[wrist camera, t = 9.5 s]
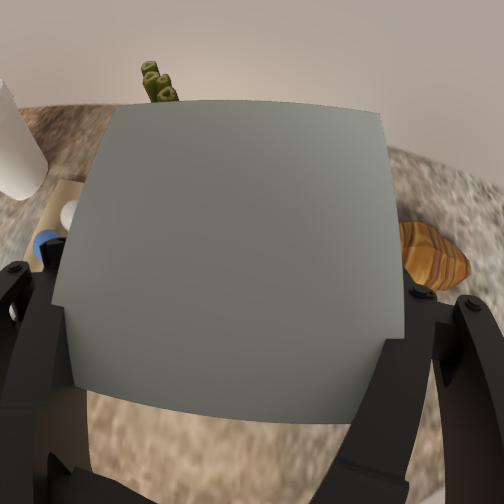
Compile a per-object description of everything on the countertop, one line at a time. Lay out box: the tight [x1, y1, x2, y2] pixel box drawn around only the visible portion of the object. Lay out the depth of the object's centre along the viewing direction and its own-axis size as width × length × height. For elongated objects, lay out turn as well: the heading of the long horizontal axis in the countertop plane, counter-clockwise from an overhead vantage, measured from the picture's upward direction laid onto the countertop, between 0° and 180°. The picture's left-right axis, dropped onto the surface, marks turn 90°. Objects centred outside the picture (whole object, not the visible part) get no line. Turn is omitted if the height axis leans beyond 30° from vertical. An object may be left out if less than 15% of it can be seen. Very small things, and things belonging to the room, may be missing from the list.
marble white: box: [60, 200, 78, 231], centre depth 25 cm, size 3×3×3 cm
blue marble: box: [33, 229, 60, 261], centre depth 24 cm, size 3×3×3 cm
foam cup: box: [0, 79, 48, 201], centre depth 24 cm, size 10×9×13 cm
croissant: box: [399, 221, 471, 292], centre depth 23 cm, size 14×7×5 cm, turn 83°
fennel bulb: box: [141, 61, 179, 103], centre depth 24 cm, size 6×5×12 cm
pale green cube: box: [51, 100, 404, 424], centre depth 13 cm, size 9×9×11 cm
